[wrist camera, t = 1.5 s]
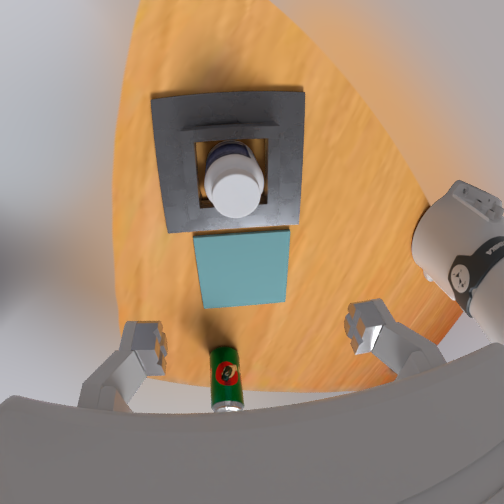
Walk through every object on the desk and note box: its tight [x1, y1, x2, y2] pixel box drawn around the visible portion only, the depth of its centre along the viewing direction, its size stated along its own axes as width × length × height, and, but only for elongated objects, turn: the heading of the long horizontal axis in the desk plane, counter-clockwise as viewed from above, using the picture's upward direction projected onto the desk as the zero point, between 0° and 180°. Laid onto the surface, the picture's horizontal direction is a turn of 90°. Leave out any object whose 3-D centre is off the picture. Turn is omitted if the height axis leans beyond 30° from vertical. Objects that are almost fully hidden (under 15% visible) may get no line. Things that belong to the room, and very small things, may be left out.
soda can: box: [210, 346, 244, 413], centre depth 44 cm, size 5×5×12 cm
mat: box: [193, 230, 290, 309], centre depth 40 cm, size 12×12×1 cm
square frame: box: [151, 91, 305, 233], centre depth 30 cm, size 16×16×4 cm
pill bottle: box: [204, 140, 264, 218], centre depth 27 cm, size 5×5×10 cm
